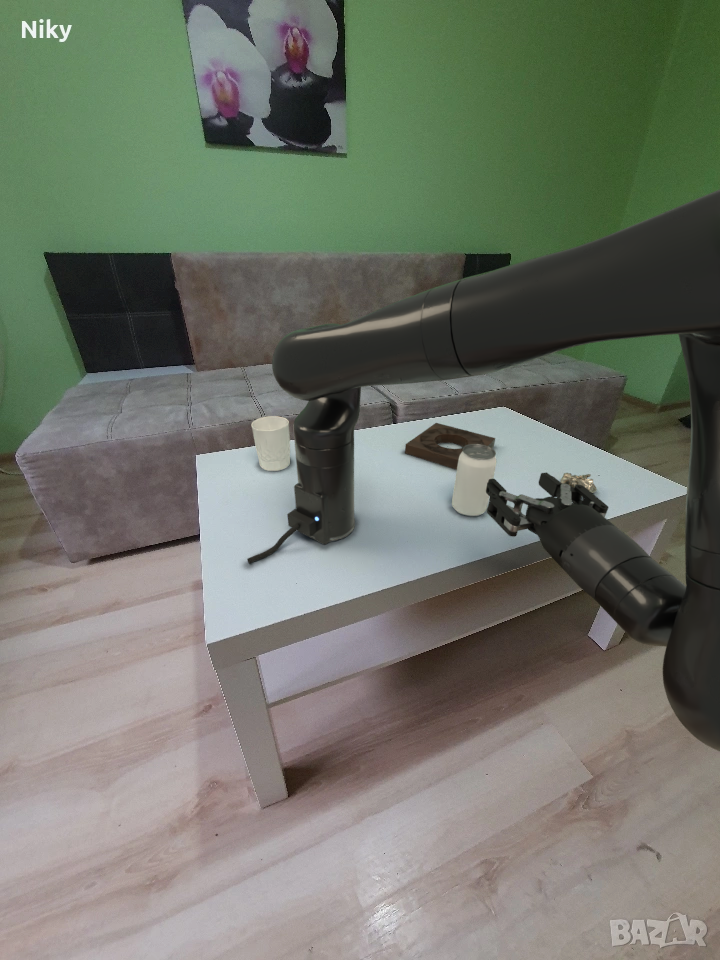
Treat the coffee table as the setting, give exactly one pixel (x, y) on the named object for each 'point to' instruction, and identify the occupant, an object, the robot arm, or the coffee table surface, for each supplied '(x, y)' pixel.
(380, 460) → the coffee table surface
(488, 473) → the can
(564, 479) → the ornament
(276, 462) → the white cup
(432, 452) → the base pad
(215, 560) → the coffee table surface
